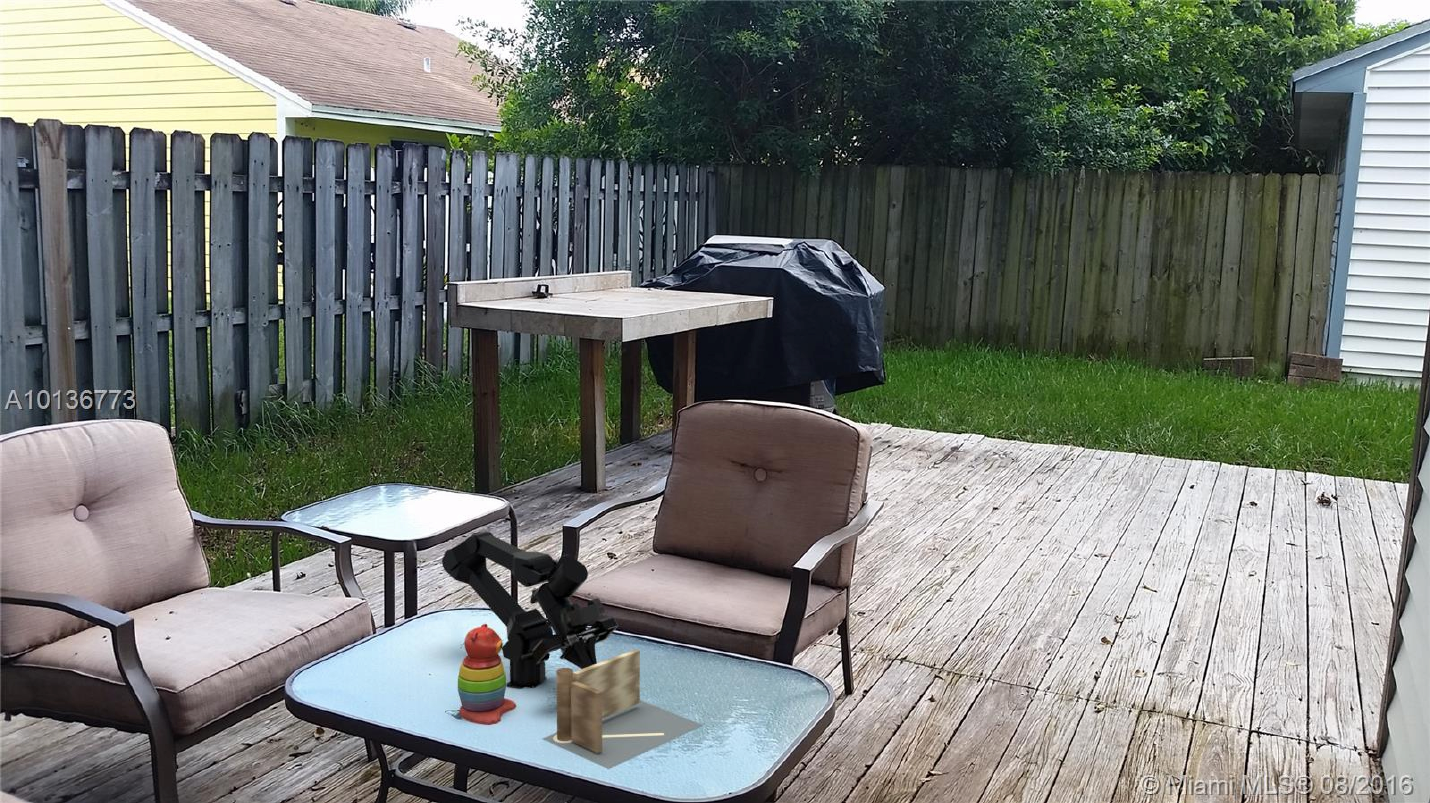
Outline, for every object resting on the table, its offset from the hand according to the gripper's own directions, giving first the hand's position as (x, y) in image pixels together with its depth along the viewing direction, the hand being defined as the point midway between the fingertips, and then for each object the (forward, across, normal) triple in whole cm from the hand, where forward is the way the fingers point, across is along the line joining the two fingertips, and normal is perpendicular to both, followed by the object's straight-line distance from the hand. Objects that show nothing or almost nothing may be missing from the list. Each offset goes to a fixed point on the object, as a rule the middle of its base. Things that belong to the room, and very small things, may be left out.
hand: (596, 675), depth 230 cm
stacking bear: (-5, -16, +16) cm, 23 cm away
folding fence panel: (+8, -2, 0) cm, 8 cm away
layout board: (+14, -4, -3) cm, 14 cm away
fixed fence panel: (+12, -13, -2) cm, 18 cm away
